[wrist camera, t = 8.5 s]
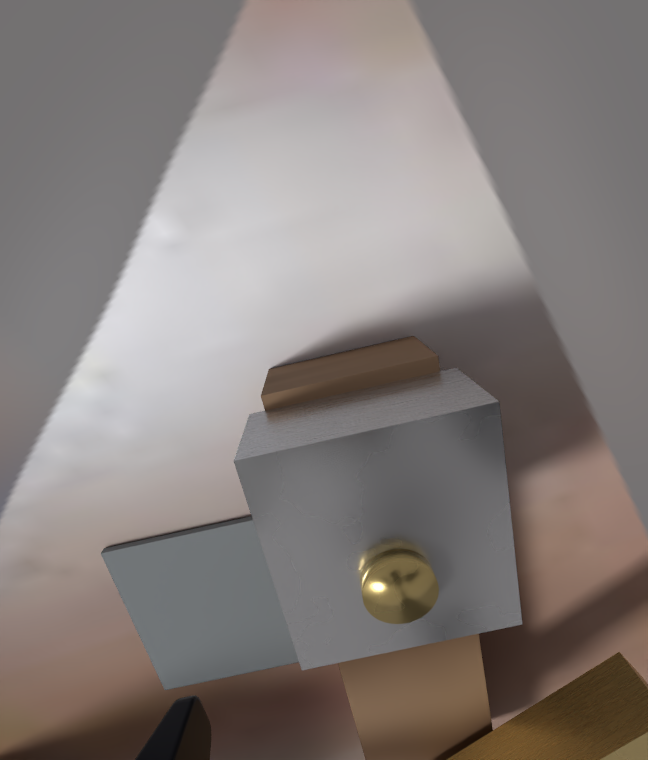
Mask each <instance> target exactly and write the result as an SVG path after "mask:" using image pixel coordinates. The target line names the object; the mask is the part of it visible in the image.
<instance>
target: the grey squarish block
mask: <svg viewBox="0 0 648 760" xmlns="http://www.w3.org/2000/svg"><path fill="white" fill-rule="evenodd" d="M234 463H235V467H236V470H237V473H238V476H239V479H240V482H241V485H242V488H243V491H244V494H245V497H246V500H247V503H248V506H249V510H250V513H251V516H252V519H253V522H254V525H255V528H256V531H257V534H258V537H259V540H260V543H261V546H262V549H263V553H264V556H265V559H266V562H267V565H268V568H269V571H270V574H271V577H272V580H273V583H274V586H275V589H276V592H277V596H278V599H279V602H280V605H281V608H282V611H283V614H284V617H285V620H286V623H287V626H288V629H289V632H290V636H291V639H292V642H293V645H294V648H295V651H296V654H297V657H298V660H299V663H300V666H301V669H302V670H306V669H311V668H316V667H321V666H326V665H330V664H335V663H340V662H345V661H350V660H354V659H359V658H364V657H369V656H374V655H378V654H383V653H388V652H393V651H397V650H402V649H407V648H412V647H417V646H421V645H426V644H431V643H436V642H441V641H445V640H450V639H455V638H460V637H465V636H469V635H474V634H479V633H484V632H489V631H493V630H498V629H503V628H508V627H513V626H517V625H522V616H521V606H520V597H519V587H518V577H517V568H516V558H515V548H514V539H513V529H512V520H511V510H510V500H509V491H508V481H507V471H506V462H505V452H504V443H503V433H502V423H501V414H500V404H499V401H498V400H496V399H495V398H494V397H493V396H491V395H490V394H489V393H488V392H486V391H485V390H484V389H483V388H481V387H480V386H479V385H478V384H476V383H475V382H474V381H473V380H471V379H470V378H469V377H468V376H466V375H465V374H464V373H463V372H461V371H460V370H459V369H457V368H452V369H448V370H443V371H439V372H434V373H430V374H425V375H421V376H417V377H412V378H408V379H403V380H399V381H394V382H390V383H386V384H381V385H377V386H372V387H368V388H364V389H359V390H355V391H350V392H346V393H341V394H337V395H333V396H328V397H324V398H319V399H315V400H310V401H306V402H302V403H297V404H293V405H288V406H284V407H279V408H275V409H271V410H266V411H262V412H257V413H253V414H249V417H248V420H247V423H246V426H245V429H244V432H243V435H242V438H241V441H240V444H239V447H238V450H237V453H236V456H235V459H234Z"/></svg>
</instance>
